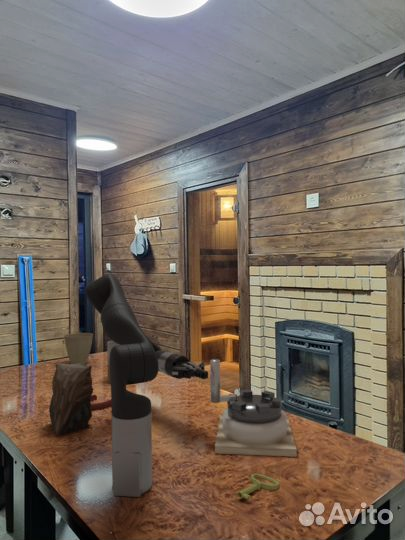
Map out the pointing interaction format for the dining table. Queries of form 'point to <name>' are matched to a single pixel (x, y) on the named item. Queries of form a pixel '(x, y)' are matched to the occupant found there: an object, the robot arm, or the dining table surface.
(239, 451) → the base board
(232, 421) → the cap housing
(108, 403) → the pliers
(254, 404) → the cap with crank handle
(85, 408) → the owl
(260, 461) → the dining table surface
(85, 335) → the plant pot
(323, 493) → the dining table surface
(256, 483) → the key
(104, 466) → the dining table surface
